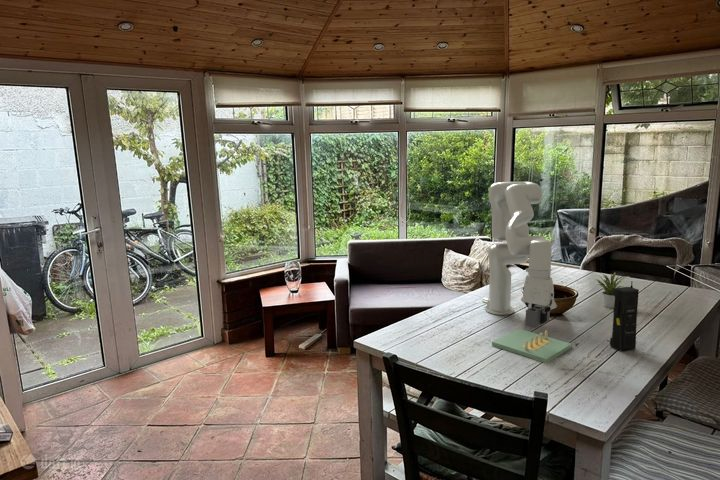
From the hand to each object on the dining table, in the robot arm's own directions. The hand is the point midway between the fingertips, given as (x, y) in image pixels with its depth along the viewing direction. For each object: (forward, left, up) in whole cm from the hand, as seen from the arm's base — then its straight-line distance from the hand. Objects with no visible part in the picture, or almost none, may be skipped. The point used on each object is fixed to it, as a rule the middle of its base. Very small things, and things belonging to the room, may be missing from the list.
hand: (537, 321), depth 177 cm
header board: (-2, 0, -11) cm, 11 cm away
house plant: (0, +69, -11) cm, 70 cm away
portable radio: (+22, +22, -11) cm, 33 cm away
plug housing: (0, 0, -1) cm, 1 cm away
